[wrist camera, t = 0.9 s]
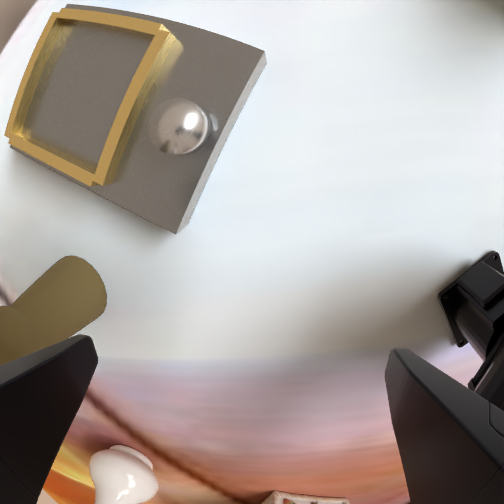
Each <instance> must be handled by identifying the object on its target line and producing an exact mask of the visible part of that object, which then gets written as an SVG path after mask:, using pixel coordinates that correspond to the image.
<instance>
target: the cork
mask: <svg viewBox="0 0 504 504" xmlns="http://www.w3.org/2000/svg"><path fill="white" fill-rule="evenodd" d="M106 301H107V294H106V290H105V286H104V283H103V281H102V279H101V278H100V276H99V274H98V273H97V271H96V270H95V269H94V268H93V267H92V265H90V264H89V263H88V262H86V261H85V260H84V259H82V258H79V257H76V256H65V257H64V258H62V259H60V260H59V261H58V262H56V263H55V264H54V265H53V266H52V267H51V268H50V269H49V270H47V271H46V272H45V273H44V274H43V275H42V276H41V277H40V278H39V279H38V280H37V281H35V282H34V283H33V284H32V285H31V286H30V287H29V288H28V289H27V290H26V291H25V292H24V293H23V294H22V295H21V296H20V297H19V298H18V299H17V300H16V301H15V302H14V303H13V304H12V305H11V306H10V307H8V306H0V365H3V364H5V363H8V362H10V361H13V360H15V359H18V358H21V357H23V356H26V355H28V354H31V353H33V352H36V351H38V350H41V349H43V348H46V347H48V346H51V345H54V344H56V343H59V342H61V341H64V340H66V339H68V338H69V337H71V336H72V335H74V334H75V333H76V332H78V331H79V330H81V329H82V328H84V327H85V326H87V325H88V324H89V323H91V322H92V321H94V320H95V319H97V318H98V317H99V316H100V315H101V314H102V313H103V312H104V310H105V307H106Z"/></svg>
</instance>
